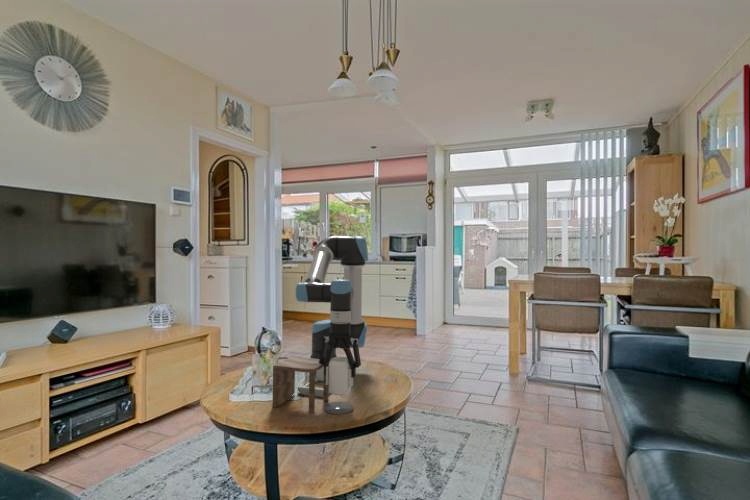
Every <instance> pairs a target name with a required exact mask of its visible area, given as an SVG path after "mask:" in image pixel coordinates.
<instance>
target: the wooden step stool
mask: <svg viewBox="0 0 750 500" xmlns="http://www.w3.org/2000/svg"><path fill="white" fill-rule="evenodd" d="M328 365H329V364H328ZM322 367H324V366H323V365H322V364H319V359H313V358H310V357H300V356H292V355H291V356H289V357H287V358H286V359H283V360H281V361H280V362H277V363H275V364H273V367H272V404H271V405H272V407H271V408H275V409H276V408H278V407H279V406H281V405H282V404H284V403H285V402H288V400H290V399H291V398H293V397H292V395H293V394H294V393H295V392H296V391H295V387H296V384H295V383H296V372H297V373H298V372H299V373H308V376H309V378H308V383H309V394H308V413H310V414H313V413H315V407H316V406H315V402H316V401H315V399H316V398H315V397H316V395H315V388H316V382H315V378H316V371H318V370H319V369H321V368H322ZM322 389H323V396H322V397H323V399H322V400H323V401H325V402H328V401H329V395H330V394H329V384H328V385H326V375H324V381H323V387H322Z"/></svg>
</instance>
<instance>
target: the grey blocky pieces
mask: <svg viewBox="0 0 750 500" xmlns="http://www.w3.org/2000/svg"><path fill="white" fill-rule="evenodd" d="M318 381H319V382H320V381H321V382H324V367H322V368H321V369H319V370H318V371H316V372H315V383H317V382H318ZM298 391H299V392H300V393H299V394H301V395H302V394H303V395H309V382H307V383H306V384H304V385H303V386H301V385H299V386H297V392H298ZM329 395H331V393H330V392H329ZM315 396H317V397H318V396H319V397H323V388H317V387H315Z"/></svg>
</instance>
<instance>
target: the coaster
mask: <svg viewBox="0 0 750 500" xmlns="http://www.w3.org/2000/svg"><path fill="white" fill-rule="evenodd" d="M354 409H355V407H354V405H353V404H352V403H350V402H346V401H331V402H328V403H326V404H324V405H323V412H325V413H327V414H331V415H347V414H349V413H352V412H353V411H354Z"/></svg>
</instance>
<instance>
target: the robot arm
mask: <svg viewBox="0 0 750 500" xmlns="http://www.w3.org/2000/svg"><path fill="white" fill-rule="evenodd" d="M367 244H368V243H367V239H366V237H364V236H360V235H359V236H358V235H331V236H328V237H326V238H324V239H322V240H321V241H319V242H318V243H317V244H316V246H314V249H313V251H312V261H311V264H310V265H309V269H308V272H307V275H306V278H305V281H304V282H297V284H296V286H295V299H296V301H297V302H299V303H300V302H301V303H330V308H329V309H330V313H329V316H330V317H329V319H323V320H318V321H315V322H313V324H312V327H311V328H312V329H311V353H310V354H311V355H310V357H309V358H313V359H319V364H322V365H323V366H324V375H326V385H328V384H329V365H328V364H329V362H330V359H331V358H334V357H338V355H337V351H336V350H337V349H342V350H343V352H344V353H345V357H347V359H348V361H349V364H350V367H351V368H350V369H349V387H350V388H351V389H352V387H354V378H355V377H356V376H357V375H356V374H357V373H356V372H357V369H358V368H359V367H361V366H362V363H361V361H362V360H361V355H360V349H361V348H364V346H365V344H366V336H367V332H368V330H367V329H368V323H365V319H364V318H363V316H362V306H363V305H362V301H363V300H362V292H363V290H362V289H363V288H362V287H363V285H362V283H363V280H362V279H363V276H362V275H363V273H362V272H363V268H364V266H365V265H366V262H367V261H369V250H368V245H367ZM333 261H340V266H341V267H343V279H332V280H331V281H330V282H325V281H326V277H327V273H328V270H329V266H330V263H331V262H333ZM351 349H352V350H353V354H352V351H351Z"/></svg>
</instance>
